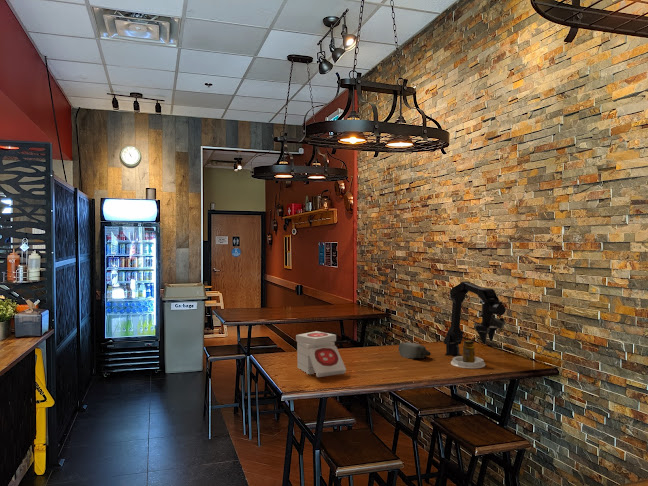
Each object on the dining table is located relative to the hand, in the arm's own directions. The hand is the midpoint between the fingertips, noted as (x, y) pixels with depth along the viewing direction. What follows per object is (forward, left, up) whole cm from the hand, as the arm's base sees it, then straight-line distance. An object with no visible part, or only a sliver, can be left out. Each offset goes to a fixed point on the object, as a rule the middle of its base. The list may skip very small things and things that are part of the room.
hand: (487, 342), depth 256 cm
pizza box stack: (-64, -60, -13) cm, 89 cm away
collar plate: (-11, 0, -13) cm, 17 cm away
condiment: (-11, -1, -13) cm, 17 cm away
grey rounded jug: (-43, -2, -13) cm, 45 cm away
